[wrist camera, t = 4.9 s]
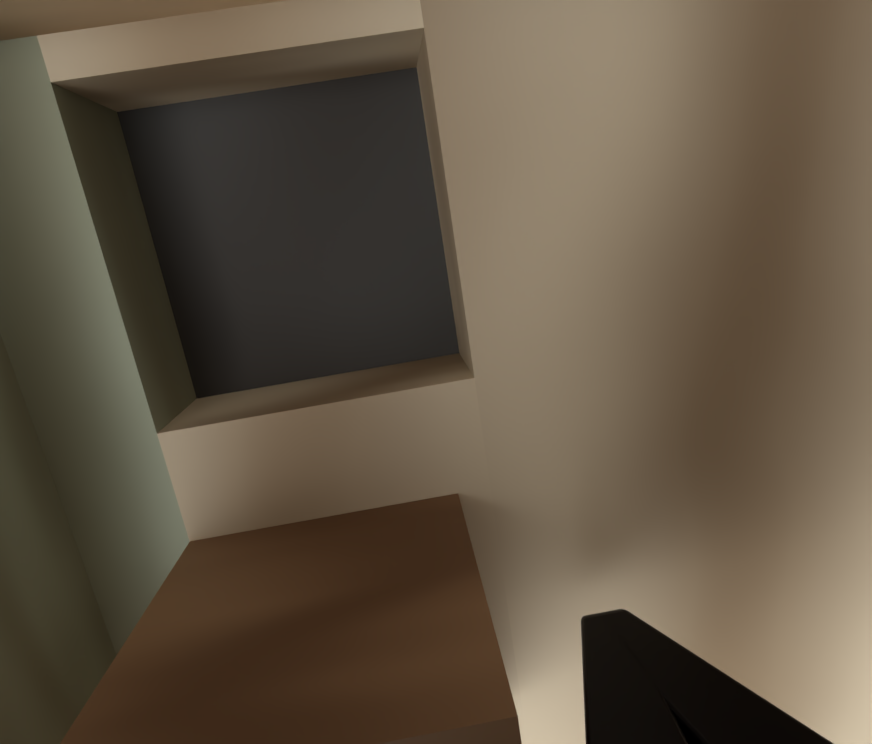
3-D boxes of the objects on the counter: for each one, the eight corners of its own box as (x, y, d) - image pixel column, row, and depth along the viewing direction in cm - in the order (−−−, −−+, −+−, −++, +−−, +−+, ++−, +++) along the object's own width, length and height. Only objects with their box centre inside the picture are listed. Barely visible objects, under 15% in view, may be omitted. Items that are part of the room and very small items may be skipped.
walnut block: (458, 493, 8) (517, 716, 5) (491, 708, 9) (563, 1041, 6) (189, 541, 8) (14, 815, 4) (253, 755, 9) (156, 1131, 5)
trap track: (941, -94, 9) (1477, -409, 5) (885, 814, 14) (1118, 1086, 9) (-62, 49, 8) (-573, -161, 4) (249, 953, 13) (180, 1317, 9)
